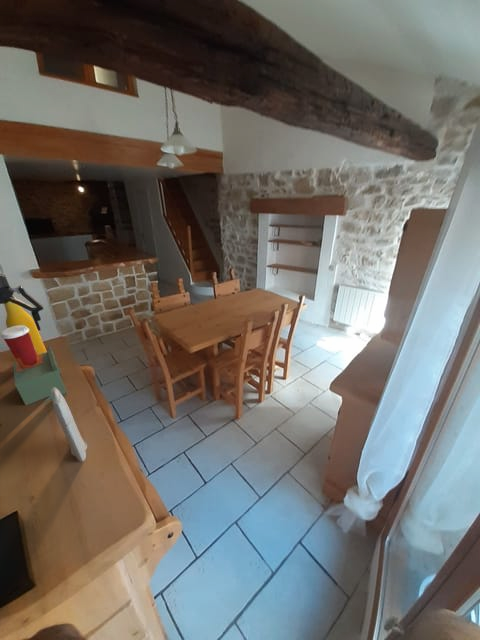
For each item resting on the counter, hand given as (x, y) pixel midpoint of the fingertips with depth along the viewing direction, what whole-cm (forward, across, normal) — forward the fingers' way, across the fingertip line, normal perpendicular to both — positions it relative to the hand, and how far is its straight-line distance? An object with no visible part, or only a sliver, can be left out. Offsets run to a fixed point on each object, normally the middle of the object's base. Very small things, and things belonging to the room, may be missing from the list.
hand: (15, 334), depth 88 cm
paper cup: (+12, 0, 0) cm, 12 cm away
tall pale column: (+23, +7, -41) cm, 48 cm away
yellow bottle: (+23, +1, +24) cm, 34 cm away
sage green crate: (+23, +2, -4) cm, 23 cm away
